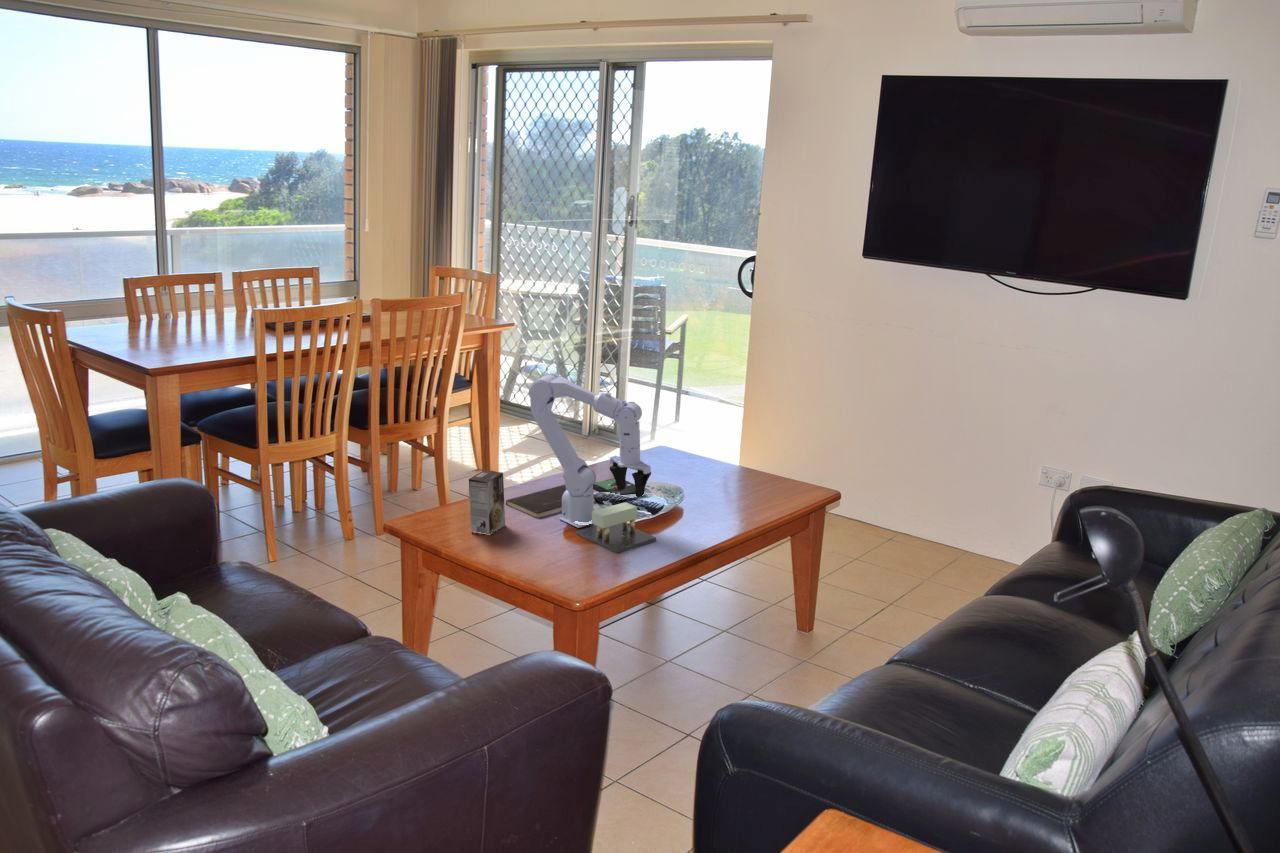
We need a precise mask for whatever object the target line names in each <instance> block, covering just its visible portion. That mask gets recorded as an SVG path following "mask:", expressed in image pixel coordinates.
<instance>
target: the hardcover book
mask: <svg viewBox="0 0 1280 853" xmlns="http://www.w3.org/2000/svg"><path fill="white" fill-rule="evenodd" d="M566 490H567V489H566V486H565V484H562V485H557V486H555V487H550V488H547V489H543V490H539V491H535V492H531V493H527V494H525V495H520V496H516V497H513V498H509V499H506V501H505V505H506V506H509V507H511V508H514V509H516V510H518V511H520V512H523V513H526V514H528V515H530V516H532V517H533V518H534V517H535V518H537V519H539V518H543V517H546V516H549V515H552V514H557V513H560V512H562V496H563V494H564V492H565V491H566ZM596 495H597V494H594V498H595V497H596ZM596 498H597V497H596Z"/></svg>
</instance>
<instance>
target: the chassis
mask: <svg viewBox="0 0 1280 853" xmlns="http://www.w3.org/2000/svg"><path fill="white" fill-rule="evenodd" d="M635 521H636V519H634V520H631V521H629V524H628V521H627V522H624V523H620V524H617V525H613V526H610V527H606V528H601V527H599V526H597V525H593V526H589V527H588V526H587V527H585V528H581V529H578V530H576V532H575V534H576V535H578V536H579V537H582V538H583V539H586V540H587V541H589V542H592V543H594V544H597V545H599V546H601V547H603V548H604V549H607V550H609V551H611V552H613V553H616V554H618V553H621V552H622V553H623V552H625V551H628V550H631V549H634V548H638V547H640V546H644V545H648V544H650V543H654V542H656V541H657V537H656V536H654V535H651V534H649V533H647V532H644V531H642V530H640V529H638V528H635V526H636V524H635V523H636V522H635Z"/></svg>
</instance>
